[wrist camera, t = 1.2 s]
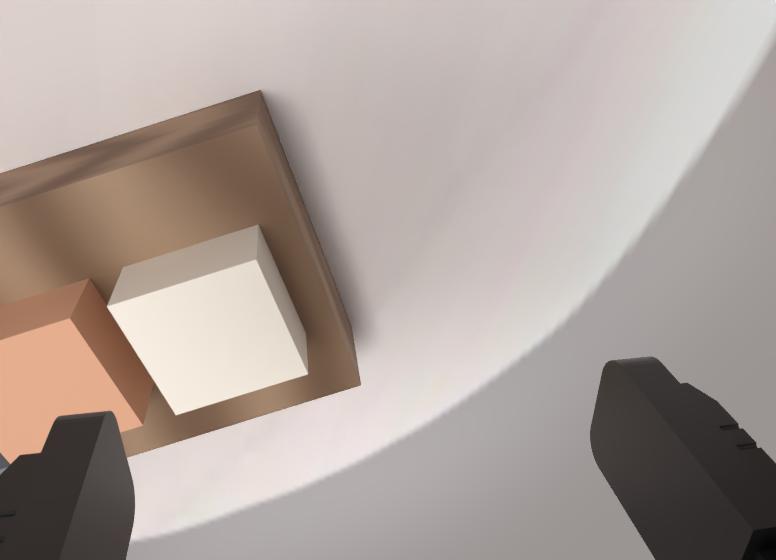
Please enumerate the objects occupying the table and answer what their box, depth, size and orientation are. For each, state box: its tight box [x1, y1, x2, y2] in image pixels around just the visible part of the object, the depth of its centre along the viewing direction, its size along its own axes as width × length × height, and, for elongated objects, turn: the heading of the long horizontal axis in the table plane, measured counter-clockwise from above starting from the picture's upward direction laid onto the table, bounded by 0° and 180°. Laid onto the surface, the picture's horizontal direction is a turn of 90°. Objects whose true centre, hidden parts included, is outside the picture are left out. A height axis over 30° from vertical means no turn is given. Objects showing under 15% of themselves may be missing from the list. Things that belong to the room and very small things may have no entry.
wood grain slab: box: [0, 90, 361, 457], centre depth 31 cm, size 16×14×5 cm
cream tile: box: [107, 225, 308, 415], centre depth 27 cm, size 6×6×3 cm
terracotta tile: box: [0, 278, 154, 464], centre depth 28 cm, size 6×6×3 cm
